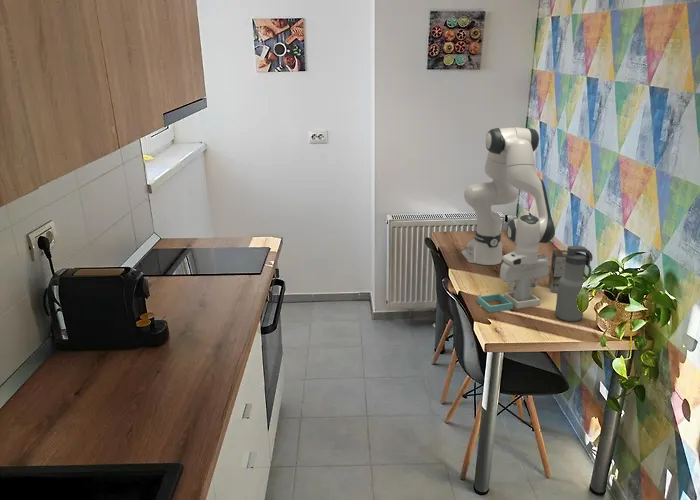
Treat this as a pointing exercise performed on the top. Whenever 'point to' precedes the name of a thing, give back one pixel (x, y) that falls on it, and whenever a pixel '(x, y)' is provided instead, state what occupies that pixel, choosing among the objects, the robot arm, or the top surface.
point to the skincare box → (522, 289)
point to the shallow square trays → (506, 302)
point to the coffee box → (557, 268)
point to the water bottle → (572, 283)
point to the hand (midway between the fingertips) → (523, 288)
